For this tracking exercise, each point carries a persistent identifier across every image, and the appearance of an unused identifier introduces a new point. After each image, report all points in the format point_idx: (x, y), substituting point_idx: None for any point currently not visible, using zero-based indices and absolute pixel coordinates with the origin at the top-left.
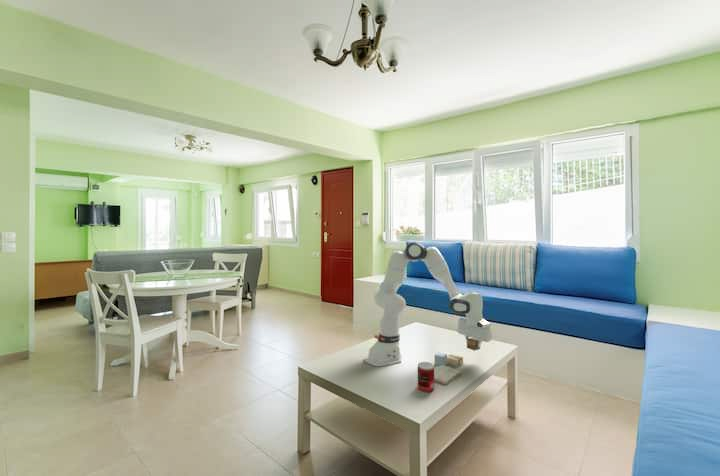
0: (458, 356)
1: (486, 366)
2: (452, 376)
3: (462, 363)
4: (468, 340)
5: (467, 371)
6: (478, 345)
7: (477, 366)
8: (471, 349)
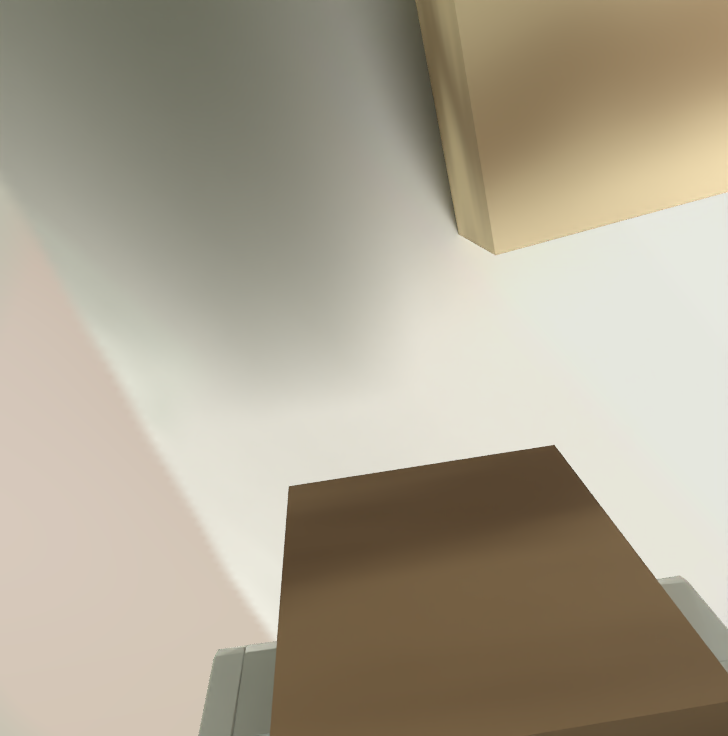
0: (576, 180)
1: (203, 480)
2: None
3: (457, 211)
4: (629, 667)
5: (147, 19)
6: (206, 707)
7: (259, 363)
8: (391, 470)
